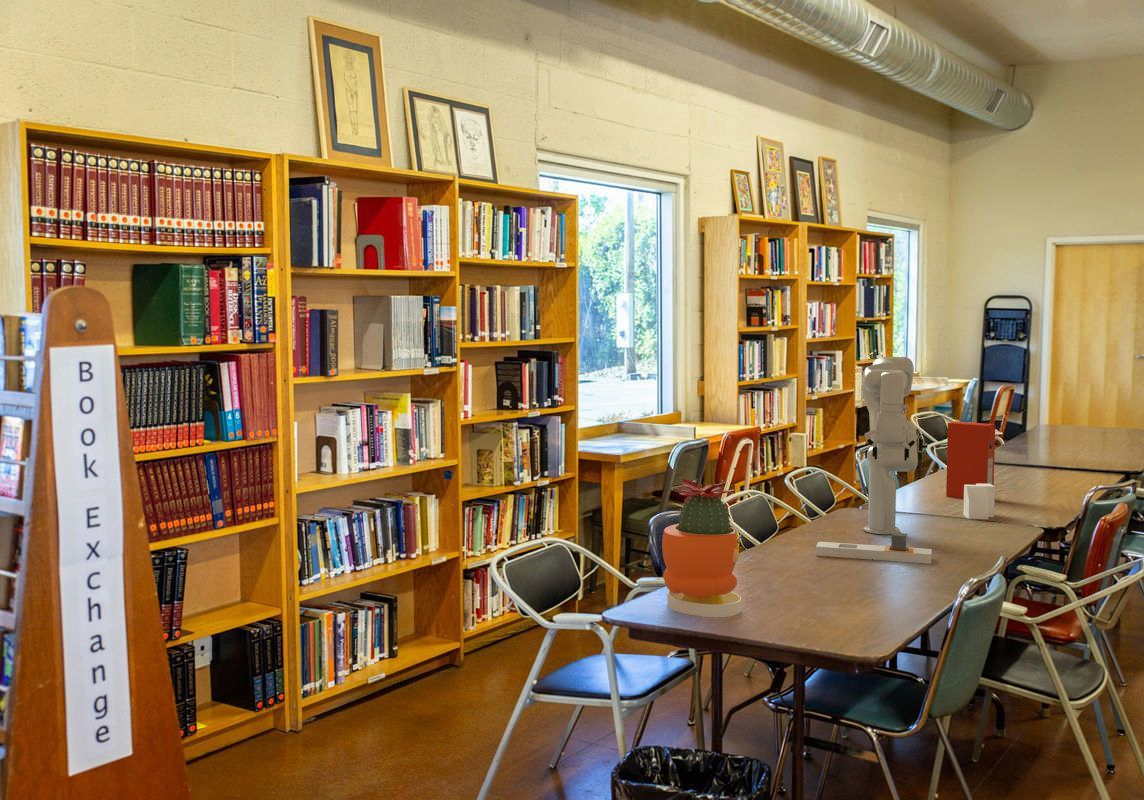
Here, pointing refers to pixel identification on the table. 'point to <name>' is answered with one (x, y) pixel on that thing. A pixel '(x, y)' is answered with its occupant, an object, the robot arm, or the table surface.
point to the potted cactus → (701, 555)
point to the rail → (873, 552)
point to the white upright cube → (979, 501)
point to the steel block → (899, 541)
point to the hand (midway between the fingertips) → (890, 459)
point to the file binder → (969, 456)
